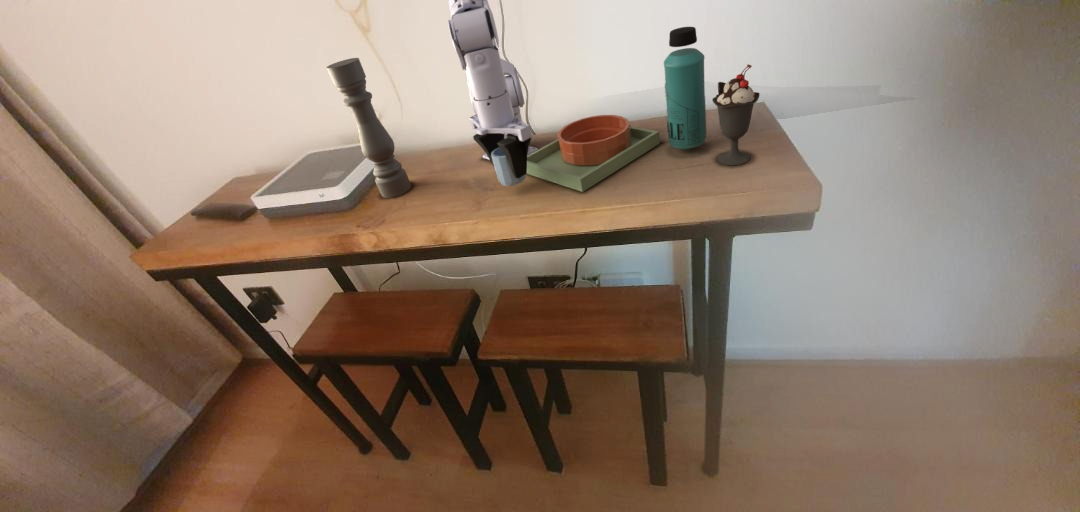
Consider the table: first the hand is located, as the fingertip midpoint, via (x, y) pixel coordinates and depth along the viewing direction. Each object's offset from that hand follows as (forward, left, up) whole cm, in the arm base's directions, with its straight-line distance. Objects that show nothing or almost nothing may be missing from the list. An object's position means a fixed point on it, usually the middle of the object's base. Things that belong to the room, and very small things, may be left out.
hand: (511, 172), depth 83 cm
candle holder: (-25, -12, -4) cm, 28 cm away
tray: (+3, +16, -4) cm, 17 cm away
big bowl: (+3, +18, -4) cm, 19 cm away
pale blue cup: (0, 0, -1) cm, 1 cm away
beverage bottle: (+17, +26, -4) cm, 31 cm away
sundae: (+26, +26, -4) cm, 37 cm away
